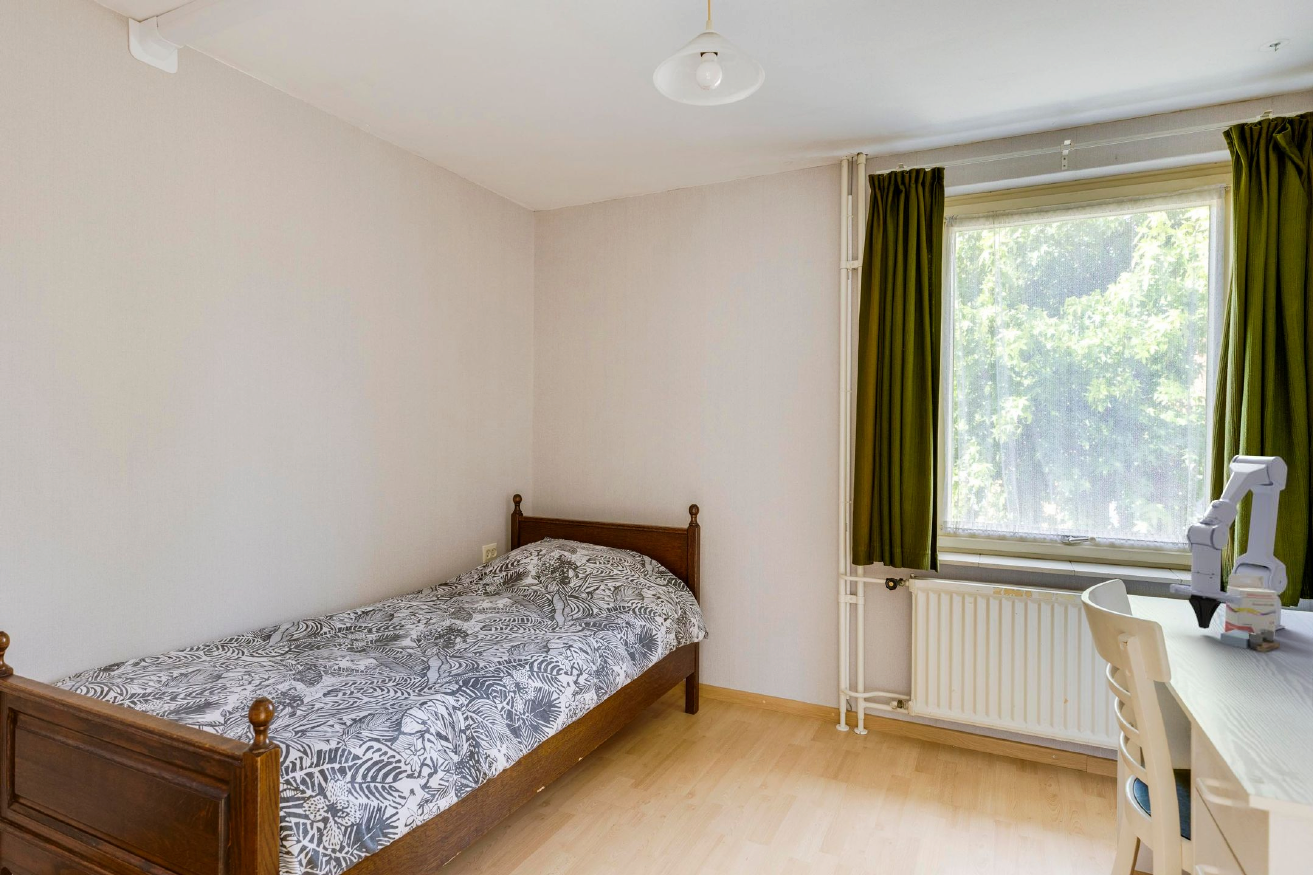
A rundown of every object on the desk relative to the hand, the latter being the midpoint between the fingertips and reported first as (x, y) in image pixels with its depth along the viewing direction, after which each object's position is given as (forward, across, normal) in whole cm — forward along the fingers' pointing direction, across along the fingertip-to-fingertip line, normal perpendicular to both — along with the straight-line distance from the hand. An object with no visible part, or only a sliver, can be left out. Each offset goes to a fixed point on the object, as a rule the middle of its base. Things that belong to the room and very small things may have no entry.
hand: (1203, 627), depth 175 cm
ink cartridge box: (+2, +6, +9) cm, 11 cm away
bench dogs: (+2, +12, 0) cm, 12 cm away
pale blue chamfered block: (+2, +8, 0) cm, 8 cm away
